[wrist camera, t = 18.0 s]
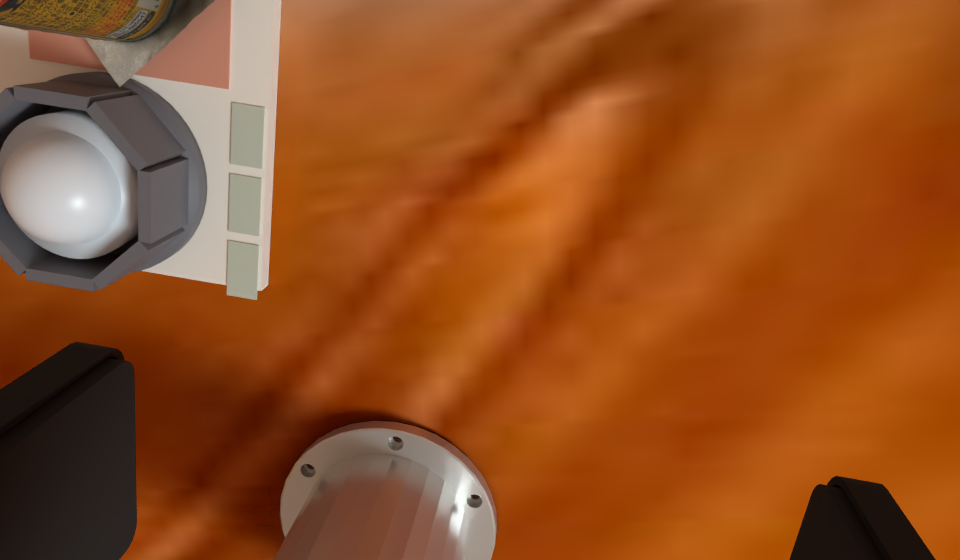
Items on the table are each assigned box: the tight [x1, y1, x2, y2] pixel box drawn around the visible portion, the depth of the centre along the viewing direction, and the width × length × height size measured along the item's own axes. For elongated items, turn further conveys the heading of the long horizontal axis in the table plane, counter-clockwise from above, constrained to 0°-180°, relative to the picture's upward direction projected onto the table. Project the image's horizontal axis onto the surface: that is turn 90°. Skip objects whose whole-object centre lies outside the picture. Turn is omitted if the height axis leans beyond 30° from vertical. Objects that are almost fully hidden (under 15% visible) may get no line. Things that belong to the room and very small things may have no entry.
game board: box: [0, 0, 281, 300], centre depth 35 cm, size 20×14×6 cm
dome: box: [0, 109, 138, 259], centre depth 35 cm, size 7×7×5 cm
